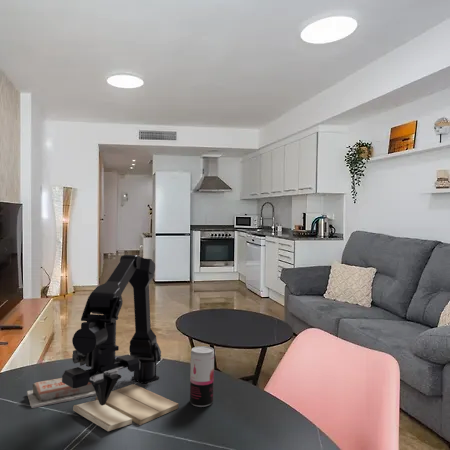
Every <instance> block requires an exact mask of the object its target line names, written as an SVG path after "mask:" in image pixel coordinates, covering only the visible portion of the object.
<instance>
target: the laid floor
mask: <svg viewBox="0 0 450 450" xmlns="http://www.w3.org/2000/svg"><path fill="white" fill-rule="evenodd" d="M95 400H98V398H97V396H95ZM105 405H107V406H109V407H111V408H113V409H115V410H117V411H119V412H120V413H122V414H124V415H126V416H128V417H130V418H132V423H135V424H137V425H139V426H141V425H144V424H146V423H149V422H151V421H153V420H155V419H157V418H159V417H162V416H164V415H166V414H168V413H171V412H173V411H175V410H178V409H179V406H180V405H179V403H178V402H175V401H173V400H171V399H168V398H166V397H164V396H162V395H160V394H158V393H155V392H153V391H151V390H148V389H146V388H143V387H141V386H139V385H137V384H135V383H132V384H129V385H126V386H123V387H120V388H118V389H115V390H112V391H111V393H110V395H109V397H108V399H107V401H106V403H105Z"/></svg>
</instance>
